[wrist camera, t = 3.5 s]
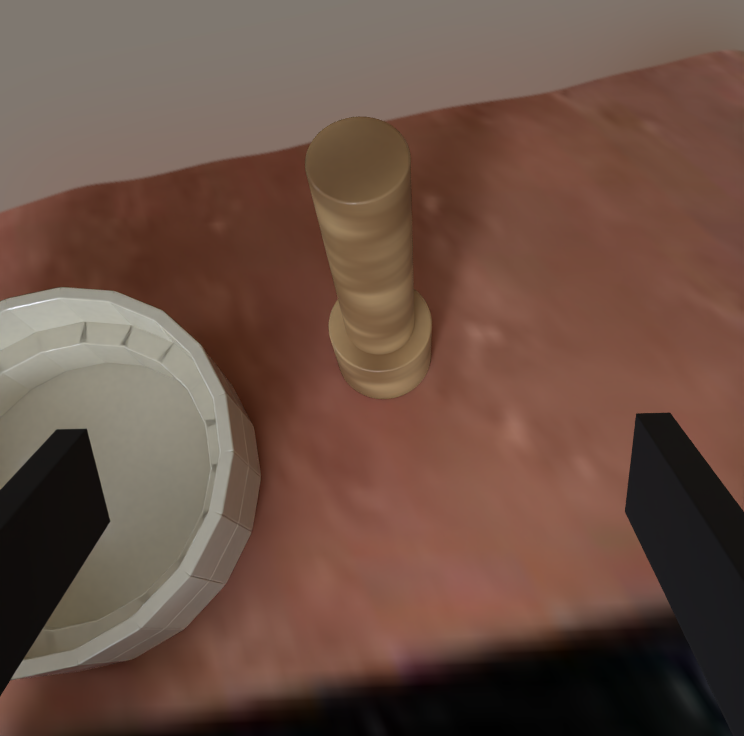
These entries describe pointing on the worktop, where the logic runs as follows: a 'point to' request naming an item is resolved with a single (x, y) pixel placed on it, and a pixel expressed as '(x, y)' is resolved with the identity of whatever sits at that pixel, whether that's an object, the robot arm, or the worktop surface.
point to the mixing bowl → (129, 465)
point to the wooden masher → (370, 255)
